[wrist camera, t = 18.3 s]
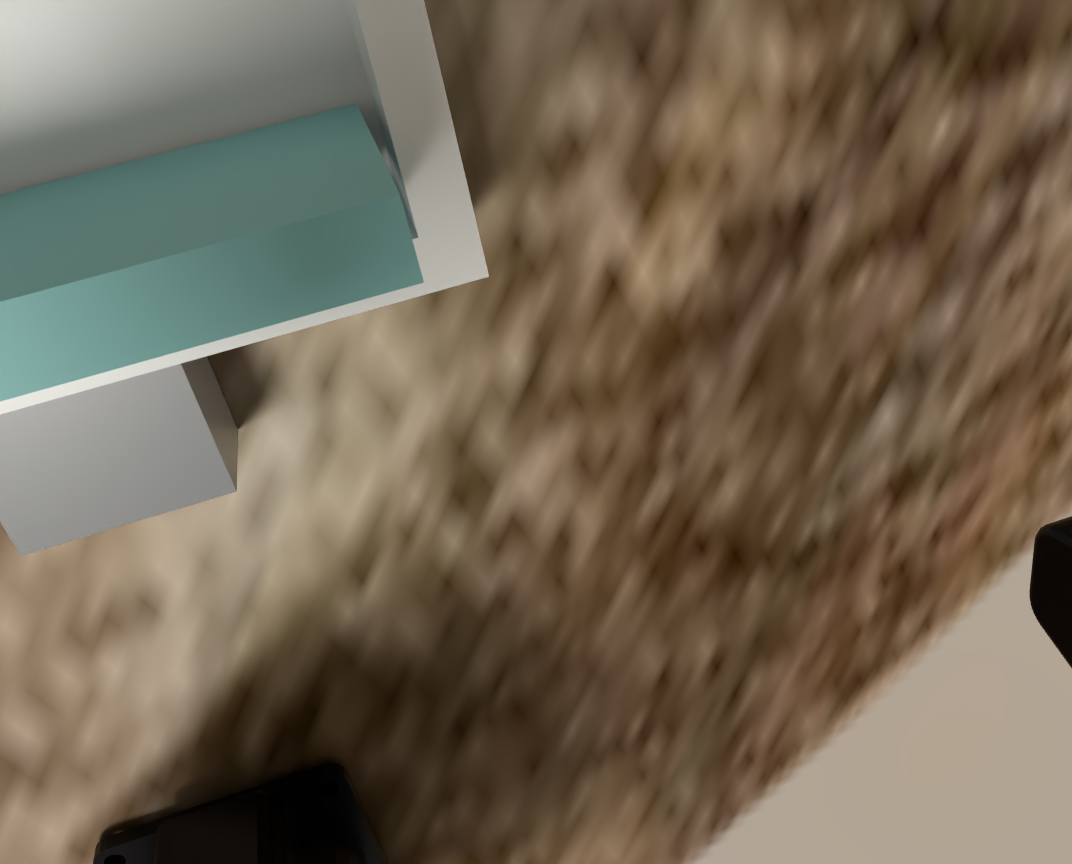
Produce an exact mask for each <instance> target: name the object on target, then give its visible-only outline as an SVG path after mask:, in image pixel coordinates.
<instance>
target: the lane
mask: <svg viewBox="0 0 1072 864" xmlns="http://www.w3.org/2000/svg"><path fill="white" fill-rule="evenodd" d="M356 103H357V105H358V107H359V109H360V111H361V114H362V116H363V118H364V120H365V122H366V124H367V126H368V128H369V130H370V132H371V135H372V137H373V139H374V141H375V143H376V145H377V147H378V149H379V151H380V153H381V156H382V158H383V160H384V162H385V164H386V166H387V168H388V170H389V172H390V174H391V177H392V179H393V181H394V183H395V185H396V187H397V189H398V191H399V193H400V197H401V200H402V204H403V207H404V211H405V215H406V218H407V222H408V226H409V229H410V233H411V237H412V240H413V244H414V248H415V251H416V255H417V259H418V262H419V266H420V270H421V273H422V277H423V281H424V283H421V284H417V285H414V286H410V287H406V288H403V289H399V290H396V291H392V292H389V293H385V294H382V295H378V296H374V297H371V298H367V299H364V300H360V301H357V302H353V303H349V304H346V305H342V306H339V307H335V308H332V309H328V310H325V311H321V312H317V313H314V314H310V315H307V316H303V317H300V318H296V319H293V320H289V321H285V322H282V323H278V324H275V325H271V326H268V327H264V328H260V329H257V330H253V331H250V332H246V333H243V334H239V335H236V336H232V337H228V338H225V339H221V340H218V341H214V342H211V343H207V344H204V345H200V346H196V347H193V348H189V349H186V350H182V351H179V352H175V353H172V354H168V355H164V356H161V357H157V358H154V359H150V360H147V361H143V362H139V363H136V364H132V365H129V366H125V367H122V368H118V369H115V370H111V371H107V372H104V373H100V374H97V375H93V376H90V377H86V378H83V379H79V380H75V381H72V382H68V383H65V384H61V385H58V386H54V387H50V388H47V389H43V390H40V391H36V392H33V393H29V394H26V395H22V396H18V397H15V398H11V399H8V400H4V401H1V402H0V522H1V524H2V526H3V527H4V529H5V531H6V532H7V534H8V535H9V537H10V539H11V540H12V542H13V544H14V545H15V547H16V549H17V550H18V552H19V554H20V555H21V556H22V555H26V554H29V553H32V552H36V551H39V550H42V549H46V548H49V547H52V546H56V545H59V544H62V543H66V542H69V541H72V540H76V539H79V538H82V537H86V536H89V535H92V534H96V533H99V532H102V531H106V530H109V529H112V528H116V527H119V526H122V525H126V524H129V523H132V522H136V521H139V520H142V519H146V518H149V517H152V516H156V515H159V514H162V513H166V512H169V511H172V510H176V509H179V508H182V507H186V506H189V505H192V504H196V503H199V502H202V501H206V500H209V499H213V498H216V497H219V496H223V495H226V494H229V493H233V492H236V490H237V455H238V429H237V427H236V424H235V422H234V420H233V417H232V415H231V413H230V410H229V408H228V405H227V403H226V401H225V398H224V396H223V393H222V391H221V389H220V386H219V384H218V381H217V379H216V377H215V374H214V372H213V370H212V367H211V365H210V362H209V360H208V358H207V356H209V355H213V354H216V353H220V352H224V351H227V350H231V349H234V348H238V347H241V346H245V345H248V344H252V343H255V342H259V341H263V340H266V339H270V338H273V337H277V336H280V335H284V334H287V333H291V332H294V331H298V330H301V329H305V328H309V327H312V326H316V325H319V324H323V323H326V322H330V321H333V320H337V319H340V318H344V317H347V316H351V315H355V314H358V313H362V312H365V311H369V310H372V309H376V308H379V307H383V306H386V305H390V304H394V303H397V302H401V301H404V300H408V299H411V298H415V297H418V296H422V295H425V294H429V293H432V292H436V291H440V290H443V289H447V288H450V287H454V286H457V285H461V284H464V283H468V282H471V281H475V280H478V279H482V278H486V277H489V275H488V270H487V266H486V262H485V257H484V253H483V249H482V245H481V240H480V236H479V232H478V228H477V223H476V219H475V215H474V211H473V206H472V202H471V198H470V194H469V189H468V185H467V181H466V177H465V172H464V168H463V164H462V160H461V155H460V151H459V147H458V143H457V138H456V134H455V130H454V126H453V121H452V117H451V113H450V109H449V104H448V100H447V96H446V91H445V87H444V83H443V79H442V74H441V70H440V66H439V62H438V57H437V53H436V49H435V45H434V40H433V36H432V32H431V28H430V23H429V19H428V15H427V11H426V6H425V2H424V0H0V195H2V194H5V193H9V192H13V191H17V190H21V189H25V188H29V187H33V186H37V185H40V184H44V183H48V182H52V181H56V180H60V179H64V178H68V177H72V176H75V175H79V174H83V173H87V172H91V171H95V170H99V169H103V168H107V167H110V166H114V165H118V164H122V163H126V162H130V161H134V160H138V159H142V158H145V157H149V156H153V155H157V154H161V153H165V152H169V151H173V150H177V149H180V148H184V147H188V146H192V145H196V144H200V143H204V142H208V141H212V140H215V139H219V138H223V137H227V136H231V135H235V134H239V133H243V132H247V131H250V130H254V129H258V128H262V127H266V126H270V125H274V124H278V123H282V122H285V121H289V120H293V119H297V118H301V117H305V116H309V115H313V114H317V113H321V112H324V111H328V110H332V109H336V108H340V107H344V106H348V105H352V104H356Z"/></svg>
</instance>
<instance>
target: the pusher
mask: <svg viewBox="0 0 1072 864" xmlns="http://www.w3.org/2000/svg"><path fill="white" fill-rule="evenodd" d="M421 283H424V281H423V277H422V273H421V270H420V266H419V262H418V259H417V255H416V251H415V248H414V244H413V240H412V237H411V233H410V229H409V226H408V222H407V218H406V215H405V211H404V207H403V204H402V200H401V197H400V193H399V191H398V189H397V187H396V185H395V183H394V181H393V179H392V177H391V174H390V172H389V170H388V168H387V166H386V164H385V162H384V160H383V158H382V156H381V153H380V151H379V149H378V147H377V145H376V143H375V141H374V139H373V137H372V135H371V132H370V130H369V128H368V126H367V124H366V122H365V120H364V118H363V116H362V114H361V111H360V109H359V107H358V105H357V103H356V104H352V105H348V106H344V107H340V108H336V109H332V110H328V111H324V112H321V113H317V114H313V115H309V116H305V117H301V118H297V119H293V120H289V121H285V122H282V123H278V124H274V125H270V126H266V127H262V128H258V129H254V130H250V131H247V132H243V133H239V134H235V135H231V136H227V137H223V138H219V139H215V140H212V141H208V142H204V143H200V144H196V145H192V146H188V147H184V148H180V149H177V150H173V151H169V152H165V153H161V154H157V155H153V156H149V157H145V158H142V159H138V160H134V161H130V162H126V163H122V164H118V165H114V166H110V167H107V168H103V169H99V170H95V171H91V172H87V173H83V174H79V175H75V176H72V177H68V178H64V179H60V180H56V181H52V182H48V183H44V184H40V185H37V186H33V187H29V188H25V189H21V190H17V191H13V192H9V193H5V194H2V195H0V402H1V401H4V400H8V399H11V398H15V397H18V396H22V395H26V394H29V393H33V392H36V391H40V390H43V389H47V388H50V387H54V386H58V385H61V384H65V383H68V382H72V381H75V380H79V379H83V378H86V377H90V376H93V375H97V374H100V373H104V372H107V371H111V370H115V369H118V368H122V367H125V366H129V365H132V364H136V363H139V362H143V361H147V360H150V359H154V358H157V357H161V356H164V355H168V354H172V353H175V352H179V351H182V350H186V349H189V348H193V347H196V346H200V345H204V344H207V343H211V342H214V341H218V340H221V339H225V338H228V337H232V336H236V335H239V334H243V333H246V332H250V331H253V330H257V329H260V328H264V327H268V326H271V325H275V324H278V323H282V322H285V321H289V320H293V319H296V318H300V317H303V316H307V315H310V314H314V313H317V312H321V311H325V310H328V309H332V308H335V307H339V306H342V305H346V304H349V303H353V302H357V301H360V300H364V299H367V298H371V297H374V296H378V295H382V294H385V293H389V292H392V291H396V290H399V289H403V288H406V287H410V286H414V285H417V284H421Z"/></svg>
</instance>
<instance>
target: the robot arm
mask: <svg viewBox="0 0 1072 864" xmlns="http://www.w3.org/2000/svg"><path fill="white" fill-rule="evenodd" d="M1030 602H1031V606H1032V609H1033V612H1034V614H1035V616H1036V618H1037V620H1038V622H1039V623H1040V625H1041V626H1042V628H1043V629H1044V630H1045V632H1046V633H1047V635H1048V636H1049V637H1050V639H1051V640H1052V641H1053V643H1054V644H1055V646H1056V647H1057V648H1058V650H1059V651H1060V653H1061V654H1062V655H1063V657H1064V658H1065V659H1066V661H1067V662H1068V664H1069V665H1070V667H1071V668H1072V516H1071V517H1068V518H1065V519H1062V520H1059V521H1056V522H1053V523H1050V524H1047V525H1045V526H1043V527H1042V528H1040V530H1039V532H1038V533H1037V535H1036V537H1035V543H1034V553H1033V563H1032V573H1031V583H1030ZM326 782H333V783H330V784H324V783H326ZM115 854H117V855H115ZM93 864H388V861H387V859H386V857H385V855H384V852H383V850H382V848H381V846H380V843H379V841H378V839H377V837H376V834H375V832H374V830H373V828H372V825H371V823H370V821H369V819H368V817H367V814H366V812H365V810H364V808H363V805H362V803H361V801H360V799H359V796H358V794H357V792H356V790H355V787H354V785H353V783H352V781H351V778H350V776H349V774H348V772H347V770H346V769H345V768H344V766H342V765H340V764H337V763H327V764H322V765H319V766H316V767H313V768H310V769H307V770H304V771H301V772H298V773H295V774H292V775H289V776H286V777H283V778H280V779H277V780H274V781H271V782H268V783H265V784H262V785H259V786H256V787H253V788H250V789H247V790H244V791H241V792H238V793H235V794H232V795H229V796H226V797H223V798H220V799H218V800H215V801H212V802H209V803H206V804H203V805H200V806H197V807H194V808H191V809H188V810H185V811H182V812H179V813H176V814H173V815H170V816H167V817H164V818H161V819H158V820H155V821H152V822H149V823H146V824H143V825H140V826H137V827H134V828H131V829H128V830H125V831H122V832H119V833H116V834H113V835H110V836H108V837H106V838H104V839H102V840H101V841H100V842H99V843H98V844H97V846H96V849H95V855H94V861H93Z"/></svg>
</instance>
